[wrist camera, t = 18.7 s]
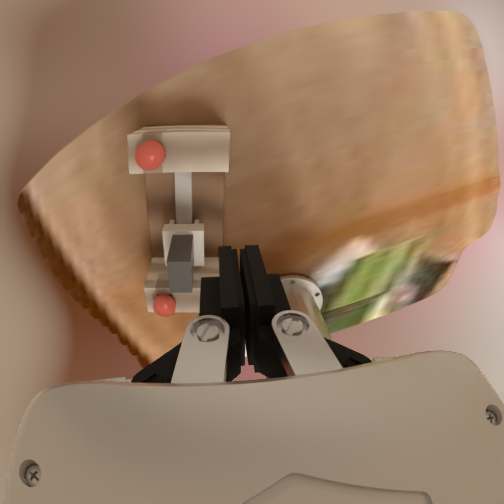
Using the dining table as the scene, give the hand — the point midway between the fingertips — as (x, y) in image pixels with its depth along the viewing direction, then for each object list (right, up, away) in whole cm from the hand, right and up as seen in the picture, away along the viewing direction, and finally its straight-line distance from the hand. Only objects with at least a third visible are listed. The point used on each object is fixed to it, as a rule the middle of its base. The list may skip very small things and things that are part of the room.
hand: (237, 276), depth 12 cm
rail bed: (-8, +7, +25) cm, 27 cm away
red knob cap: (-10, -4, +23) cm, 26 cm away
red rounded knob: (-9, +11, +14) cm, 20 cm away
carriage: (-8, +3, +25) cm, 27 cm away
